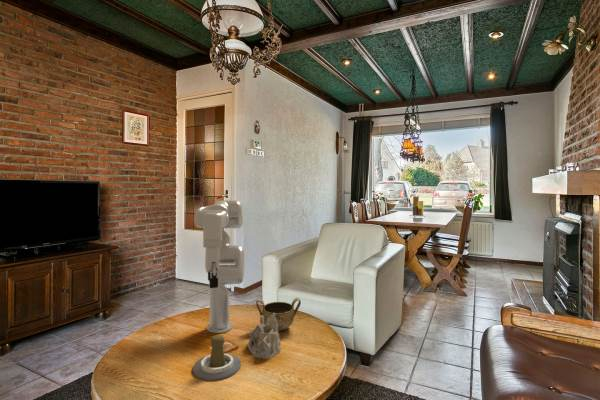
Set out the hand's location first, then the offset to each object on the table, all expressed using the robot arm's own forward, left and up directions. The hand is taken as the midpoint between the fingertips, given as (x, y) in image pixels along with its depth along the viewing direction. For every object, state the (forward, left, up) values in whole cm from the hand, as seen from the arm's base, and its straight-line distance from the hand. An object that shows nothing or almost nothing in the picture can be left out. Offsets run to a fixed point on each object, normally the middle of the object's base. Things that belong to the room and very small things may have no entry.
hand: (212, 283), depth 135 cm
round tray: (+9, +1, -31) cm, 32 cm away
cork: (+9, +1, -30) cm, 31 cm away
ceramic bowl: (-19, +33, -31) cm, 49 cm away
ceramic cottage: (-1, +21, -31) cm, 38 cm away
